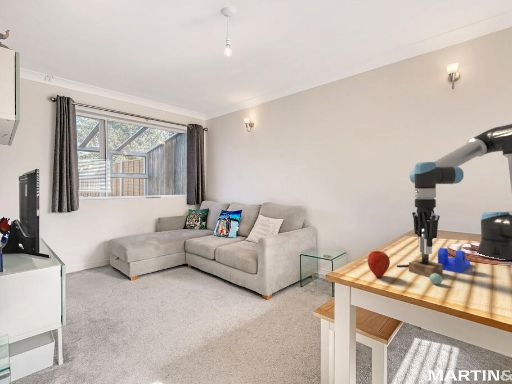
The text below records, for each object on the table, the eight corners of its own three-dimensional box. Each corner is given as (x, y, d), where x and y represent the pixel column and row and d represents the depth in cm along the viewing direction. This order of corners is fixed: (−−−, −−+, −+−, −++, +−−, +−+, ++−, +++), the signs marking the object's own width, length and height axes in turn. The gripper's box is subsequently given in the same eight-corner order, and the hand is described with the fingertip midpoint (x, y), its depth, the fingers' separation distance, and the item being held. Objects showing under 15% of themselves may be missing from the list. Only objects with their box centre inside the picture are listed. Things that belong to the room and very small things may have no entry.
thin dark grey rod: (425, 265, 119) (425, 263, 119) (427, 265, 118) (427, 264, 118) (396, 266, 118) (396, 265, 118) (397, 267, 117) (397, 265, 117)
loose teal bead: (436, 281, 99) (436, 271, 99) (445, 285, 95) (445, 275, 95) (427, 282, 99) (427, 272, 99) (434, 286, 95) (434, 275, 95)
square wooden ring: (420, 267, 115) (420, 259, 115) (442, 273, 108) (442, 264, 107) (408, 271, 111) (408, 262, 111) (431, 277, 103) (431, 268, 103)
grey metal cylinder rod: (425, 262, 111) (425, 228, 110) (430, 264, 108) (430, 229, 107) (419, 262, 110) (419, 228, 110) (424, 264, 108) (424, 229, 107)
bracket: (461, 273, 107) (461, 252, 107) (437, 269, 114) (437, 249, 114) (472, 264, 118) (472, 245, 118) (450, 260, 125) (450, 242, 125)
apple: (392, 281, 101) (392, 254, 100) (369, 279, 103) (368, 253, 103) (387, 273, 109) (387, 249, 108) (366, 272, 111) (366, 248, 111)
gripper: (404, 197, 116) (405, 248, 117) (430, 199, 100) (430, 258, 101) (420, 197, 116) (420, 248, 117) (448, 199, 101) (448, 257, 101)
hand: (425, 252), depth 109 cm, fingers closed on grey metal cylinder rod, 2 cm apart
